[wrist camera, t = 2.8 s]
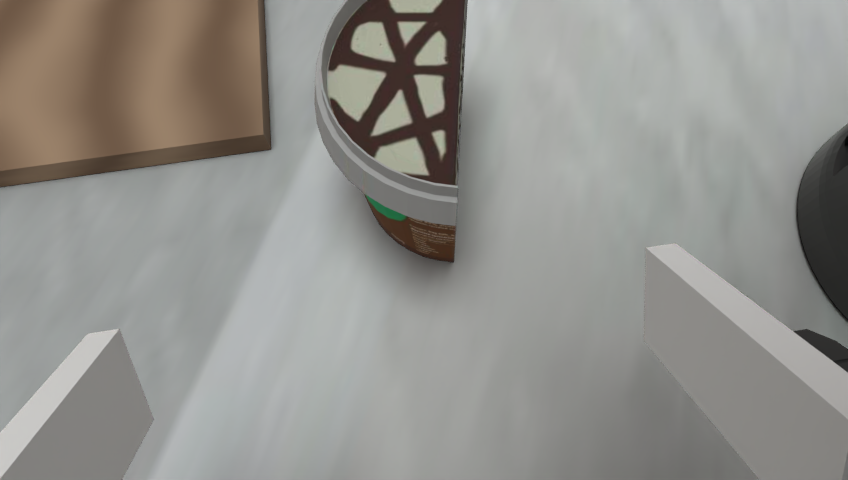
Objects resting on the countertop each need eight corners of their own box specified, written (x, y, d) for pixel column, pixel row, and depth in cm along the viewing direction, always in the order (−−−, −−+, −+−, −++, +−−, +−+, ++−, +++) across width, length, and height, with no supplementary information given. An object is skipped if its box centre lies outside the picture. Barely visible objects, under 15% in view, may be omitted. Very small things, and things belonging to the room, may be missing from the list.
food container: (358, 83, 34) (326, -65, 24) (462, 87, 33) (471, -62, 24) (331, 283, 29) (279, 193, 20) (452, 290, 29) (457, 201, 19)
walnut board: (261, -56, 38) (254, -76, 37) (271, 149, 32) (263, 134, 31) (19, -25, 38) (3, -44, 36) (-18, 189, 32) (-39, 176, 30)
